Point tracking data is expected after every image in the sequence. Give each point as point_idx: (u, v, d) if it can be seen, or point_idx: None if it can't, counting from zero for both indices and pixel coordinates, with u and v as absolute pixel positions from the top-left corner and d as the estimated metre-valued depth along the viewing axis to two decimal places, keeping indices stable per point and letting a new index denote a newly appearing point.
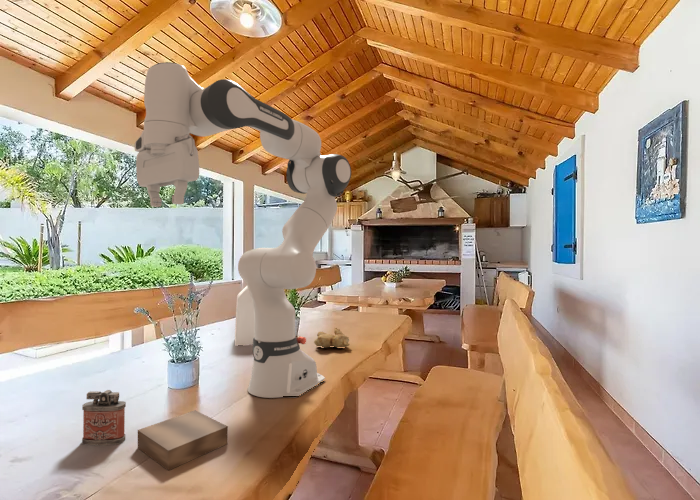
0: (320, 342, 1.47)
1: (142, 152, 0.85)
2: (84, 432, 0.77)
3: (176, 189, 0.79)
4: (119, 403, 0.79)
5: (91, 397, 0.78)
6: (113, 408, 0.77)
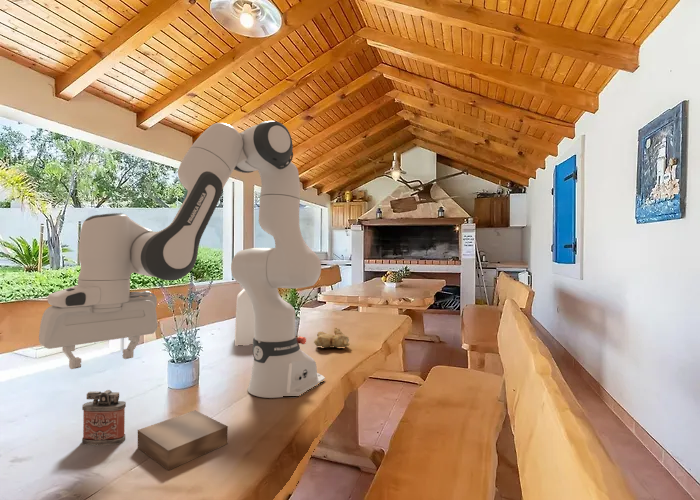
0: (320, 342, 1.47)
1: (78, 309, 0.72)
2: (84, 432, 0.77)
3: (136, 344, 0.82)
4: (119, 403, 0.79)
5: (91, 397, 0.78)
6: (113, 408, 0.77)
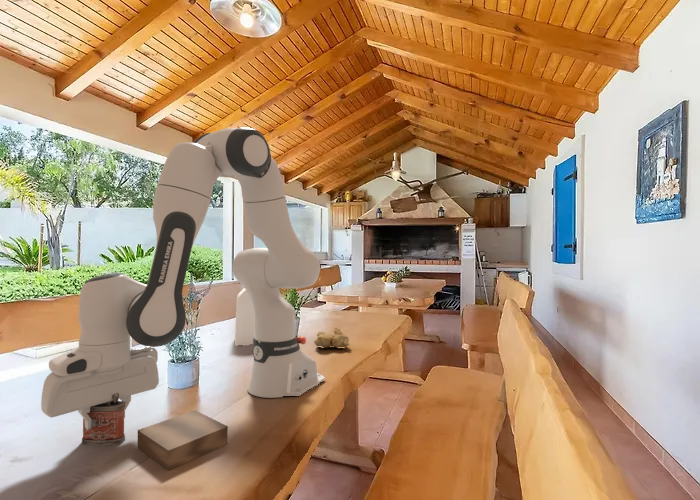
0: (320, 342, 1.47)
1: (80, 375, 0.73)
2: (84, 432, 0.77)
3: (127, 404, 0.81)
4: (119, 403, 0.79)
5: None
6: (113, 408, 0.77)
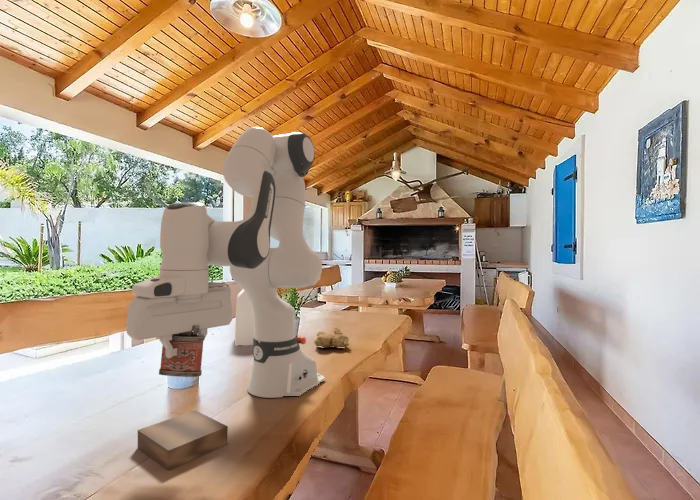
0: (320, 342, 1.47)
1: (165, 299, 0.71)
2: (162, 362, 0.75)
3: None
4: (198, 336, 0.77)
5: None
6: (194, 339, 0.75)
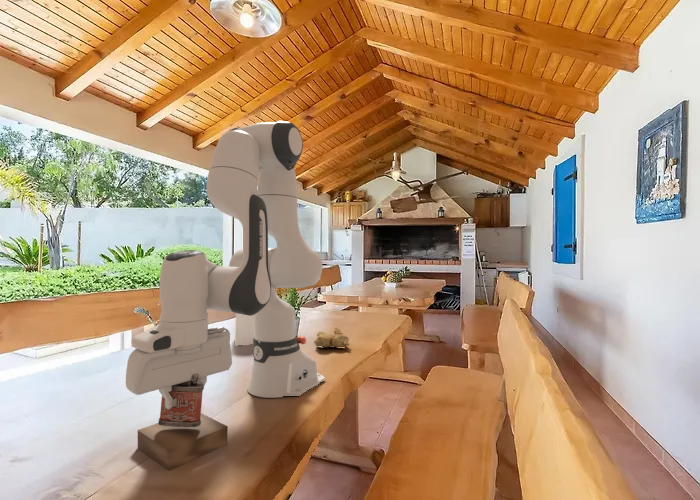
0: (320, 342, 1.47)
1: (164, 352, 0.71)
2: (161, 412, 0.75)
3: (203, 384, 0.79)
4: (198, 385, 0.77)
5: None
6: (193, 389, 0.75)
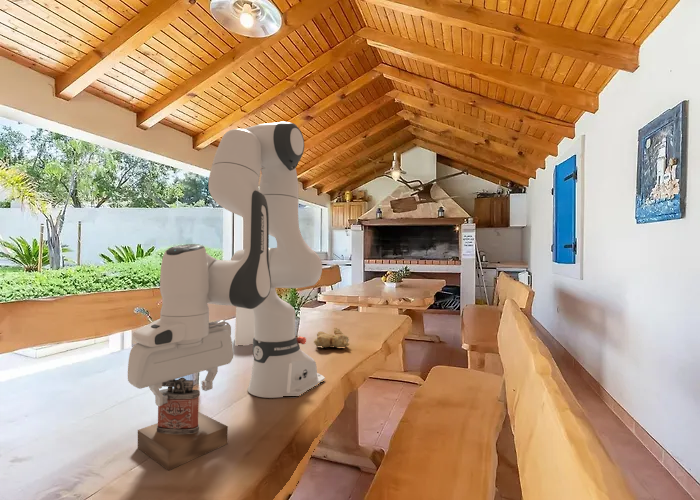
0: (320, 342, 1.47)
1: (166, 347, 0.71)
2: (159, 420, 0.75)
3: (214, 375, 0.81)
4: (193, 391, 0.76)
5: (166, 384, 0.76)
6: (188, 396, 0.75)
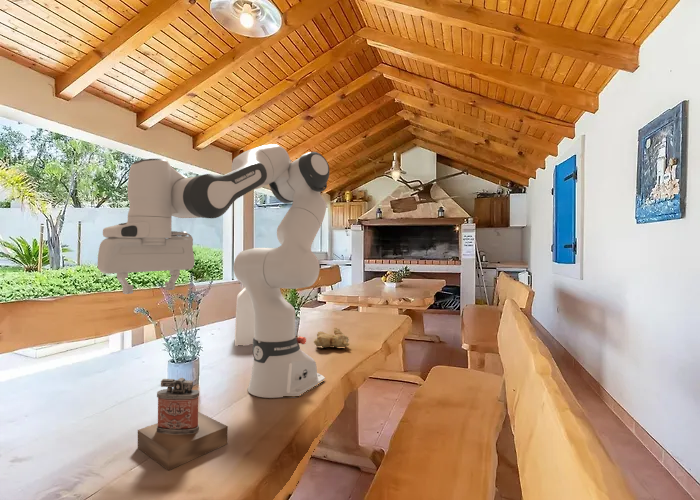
0: (320, 342, 1.47)
1: (131, 240, 0.82)
2: (159, 420, 0.75)
3: (177, 277, 0.93)
4: (193, 392, 0.76)
5: (165, 384, 0.75)
6: (188, 397, 0.74)
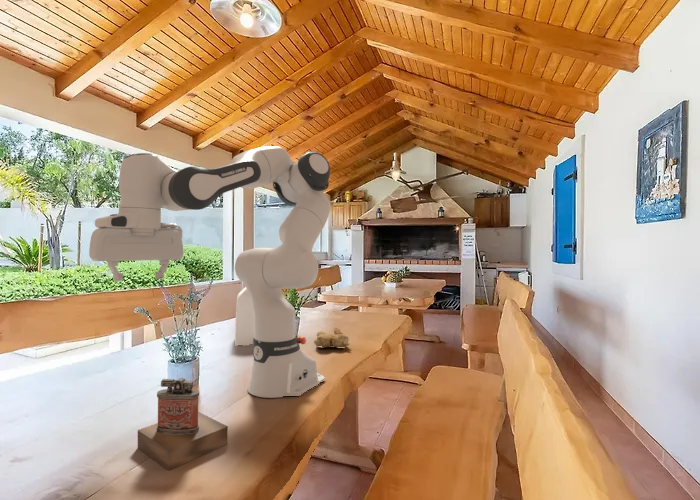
0: (320, 342, 1.47)
1: (121, 230, 0.87)
2: (159, 420, 0.75)
3: (166, 267, 0.97)
4: (193, 392, 0.76)
5: (165, 384, 0.75)
6: (188, 397, 0.74)
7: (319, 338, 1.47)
